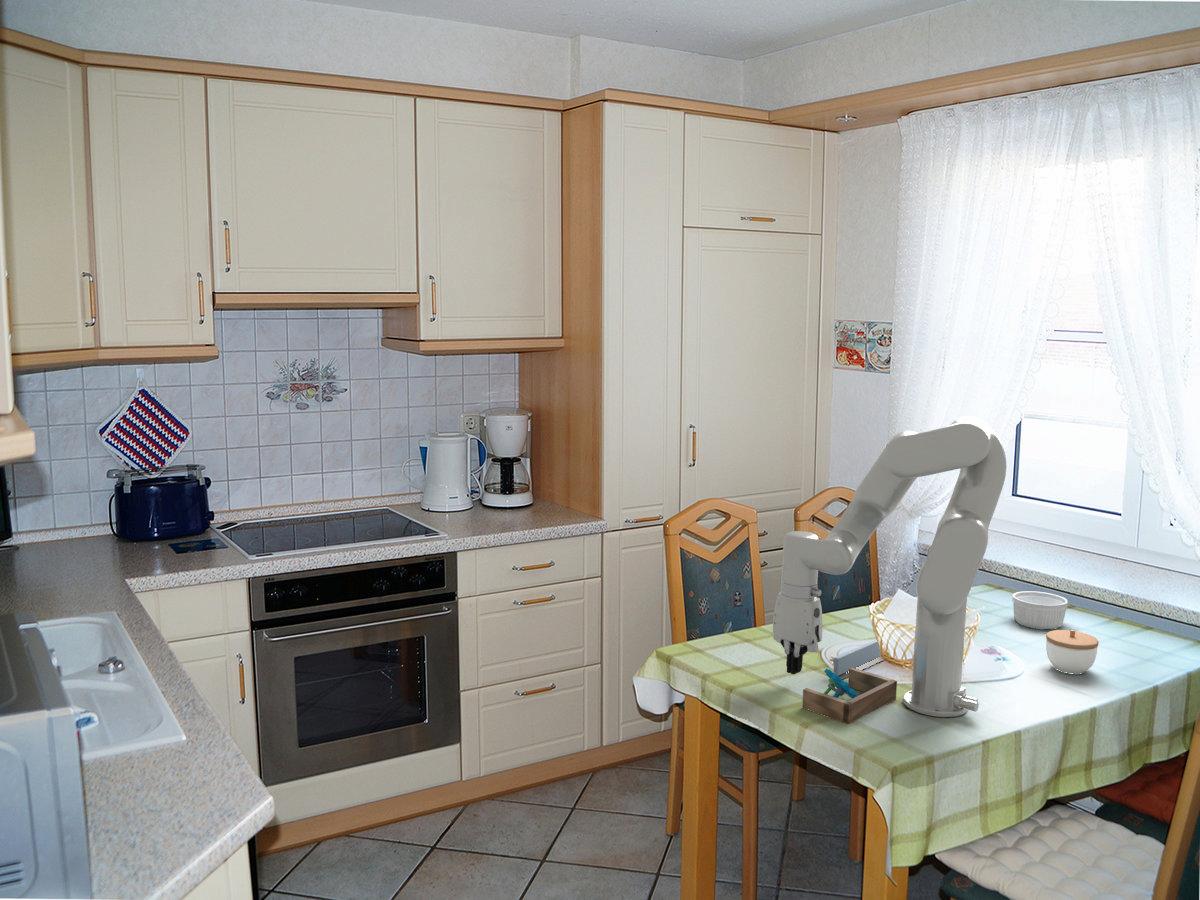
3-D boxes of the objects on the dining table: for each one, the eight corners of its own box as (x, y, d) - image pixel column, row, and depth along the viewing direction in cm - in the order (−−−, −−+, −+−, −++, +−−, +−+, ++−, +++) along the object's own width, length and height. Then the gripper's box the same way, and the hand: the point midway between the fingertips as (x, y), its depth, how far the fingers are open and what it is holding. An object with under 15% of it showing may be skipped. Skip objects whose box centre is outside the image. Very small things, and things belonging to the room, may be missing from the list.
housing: (941, 675, 224) (942, 658, 224) (848, 724, 198) (849, 704, 197) (874, 656, 236) (875, 640, 235) (778, 699, 210) (778, 681, 209)
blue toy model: (874, 705, 203) (840, 672, 202) (854, 727, 202) (820, 694, 201) (852, 692, 214) (820, 660, 213) (833, 713, 213) (801, 681, 212)
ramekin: (1001, 616, 268) (1003, 590, 267) (1048, 615, 269) (1050, 590, 268) (1027, 632, 255) (1029, 605, 254) (1076, 631, 256) (1078, 604, 255)
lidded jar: (1049, 658, 236) (1052, 619, 235) (1099, 668, 230) (1103, 628, 229) (1039, 671, 227) (1042, 631, 226) (1091, 682, 221) (1094, 641, 220)
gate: (880, 656, 234) (880, 640, 233) (837, 676, 221) (838, 658, 221) (876, 655, 235) (877, 639, 234) (833, 674, 222) (834, 657, 221)
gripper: (838, 594, 212) (833, 677, 214) (779, 579, 222) (775, 658, 225) (819, 601, 206) (813, 686, 209) (759, 585, 217) (755, 666, 220)
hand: (793, 671), depth 217 cm, fingers closed
